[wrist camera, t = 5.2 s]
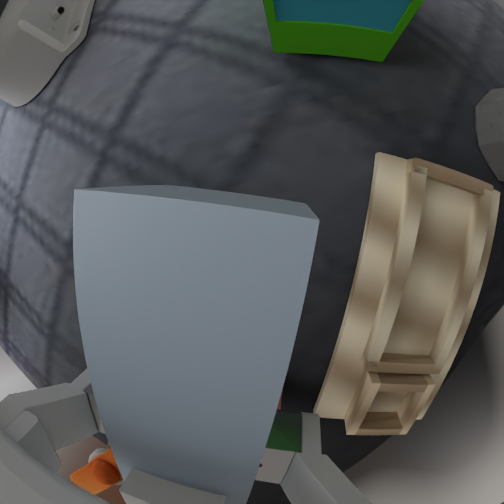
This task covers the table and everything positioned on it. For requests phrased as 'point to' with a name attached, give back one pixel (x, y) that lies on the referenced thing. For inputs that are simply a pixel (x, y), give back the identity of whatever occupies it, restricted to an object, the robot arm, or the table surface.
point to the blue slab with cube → (188, 330)
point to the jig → (409, 294)
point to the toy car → (338, 26)
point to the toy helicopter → (98, 472)
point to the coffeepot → (491, 130)
